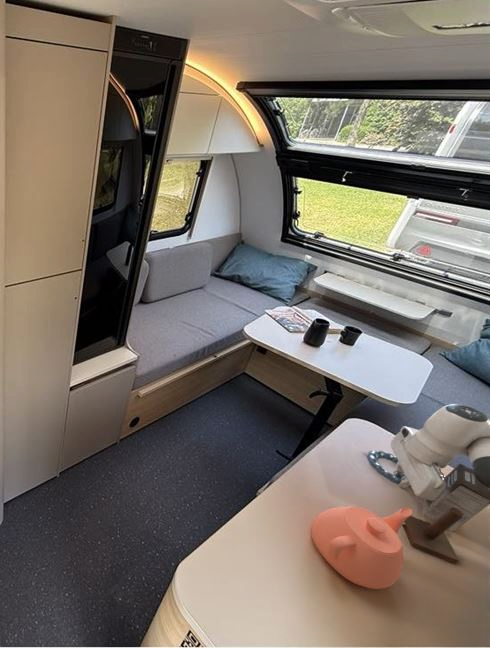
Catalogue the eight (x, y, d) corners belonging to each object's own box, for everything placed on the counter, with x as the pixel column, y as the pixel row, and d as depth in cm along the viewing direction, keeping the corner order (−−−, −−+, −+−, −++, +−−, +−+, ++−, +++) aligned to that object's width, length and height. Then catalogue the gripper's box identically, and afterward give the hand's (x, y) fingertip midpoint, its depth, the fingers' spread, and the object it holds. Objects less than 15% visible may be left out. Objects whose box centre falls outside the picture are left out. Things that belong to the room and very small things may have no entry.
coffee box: (421, 496, 105) (459, 462, 97) (451, 513, 101) (493, 479, 93) (419, 516, 99) (459, 482, 91) (451, 535, 95) (495, 500, 87)
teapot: (348, 507, 100) (376, 478, 93) (418, 573, 86) (456, 545, 80) (283, 531, 92) (308, 502, 85) (349, 608, 79) (384, 580, 72)
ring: (405, 463, 115) (410, 459, 114) (422, 496, 105) (428, 491, 104) (360, 447, 119) (364, 443, 118) (372, 478, 109) (377, 473, 108)
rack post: (438, 530, 96) (471, 504, 90) (455, 564, 89) (492, 538, 83) (397, 514, 99) (426, 488, 93) (411, 546, 92) (443, 519, 86)
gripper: (462, 486, 91) (427, 516, 98) (426, 430, 107) (398, 459, 114) (431, 475, 93) (399, 505, 100) (400, 422, 109) (375, 451, 116)
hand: (398, 480), depth 107 cm, fingers closed on ring, 2 cm apart
